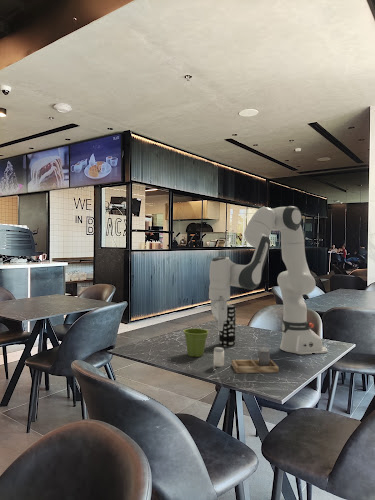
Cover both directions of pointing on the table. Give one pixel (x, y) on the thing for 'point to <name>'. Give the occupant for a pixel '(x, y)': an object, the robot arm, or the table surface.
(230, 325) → the spotted tube
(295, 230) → the robot arm
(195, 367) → the table surface
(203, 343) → the plant pot
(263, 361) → the pepper shaker
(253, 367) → the caddy
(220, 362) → the salt shaker
